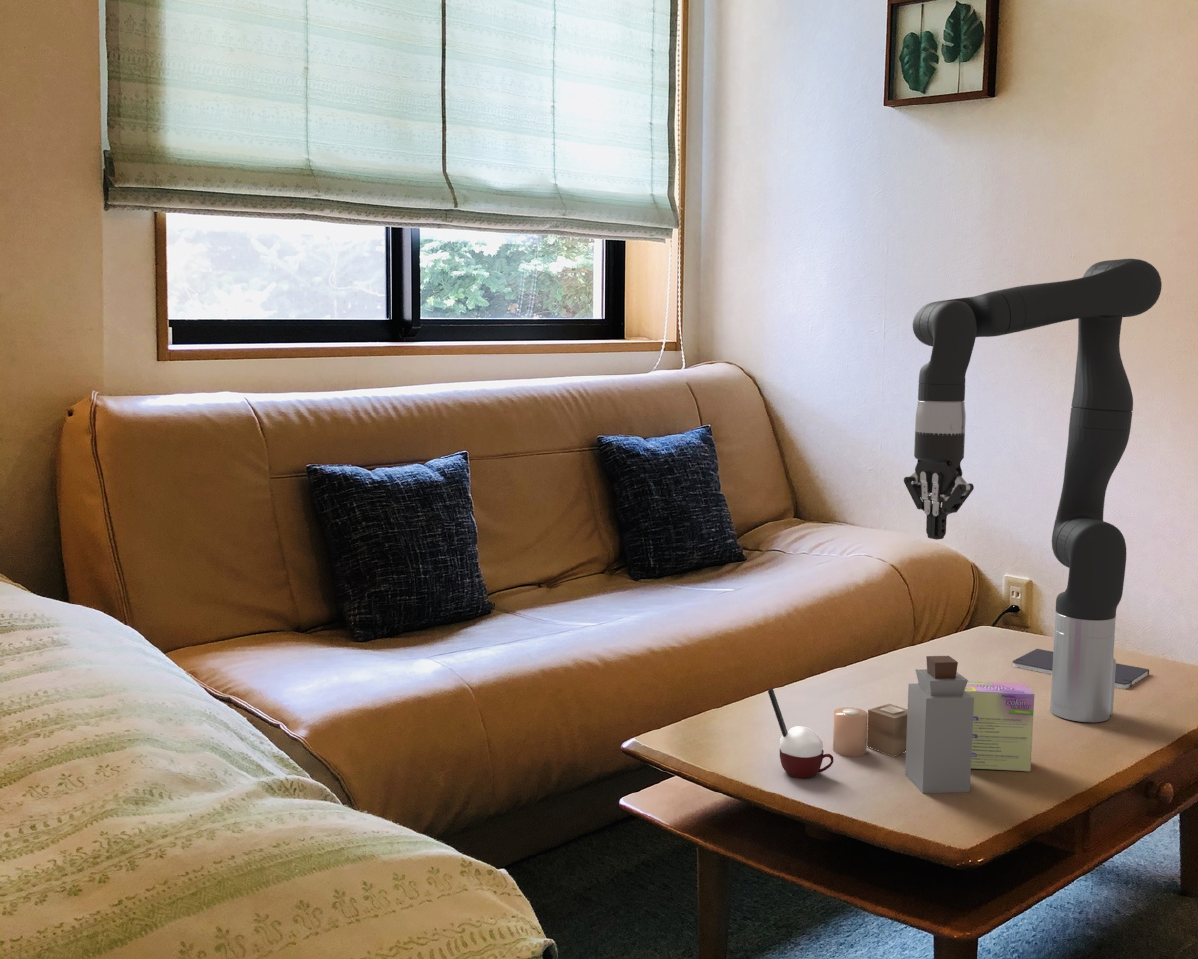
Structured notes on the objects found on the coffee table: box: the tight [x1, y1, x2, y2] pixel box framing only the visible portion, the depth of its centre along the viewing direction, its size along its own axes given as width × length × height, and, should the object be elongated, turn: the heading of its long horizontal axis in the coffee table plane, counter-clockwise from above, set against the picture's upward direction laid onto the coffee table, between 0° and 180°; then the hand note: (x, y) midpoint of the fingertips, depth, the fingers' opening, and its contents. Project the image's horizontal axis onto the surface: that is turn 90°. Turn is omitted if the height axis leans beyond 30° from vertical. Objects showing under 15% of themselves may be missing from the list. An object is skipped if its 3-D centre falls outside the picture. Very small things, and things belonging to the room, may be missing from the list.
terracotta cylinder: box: [832, 706, 868, 758], centre depth 170 cm, size 5×5×6 cm
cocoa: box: [767, 686, 834, 779], centre depth 160 cm, size 10×6×12 cm, turn 48°
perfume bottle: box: [904, 655, 974, 794], centre depth 156 cm, size 7×7×18 cm
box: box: [965, 680, 1035, 773], centre depth 164 cm, size 10×6×12 cm, turn 84°
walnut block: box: [867, 703, 908, 757], centre depth 171 cm, size 5×5×6 cm
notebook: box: [1012, 648, 1150, 690], centre depth 212 cm, size 13×2×21 cm
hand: (935, 538), depth 177 cm, fingers closed
